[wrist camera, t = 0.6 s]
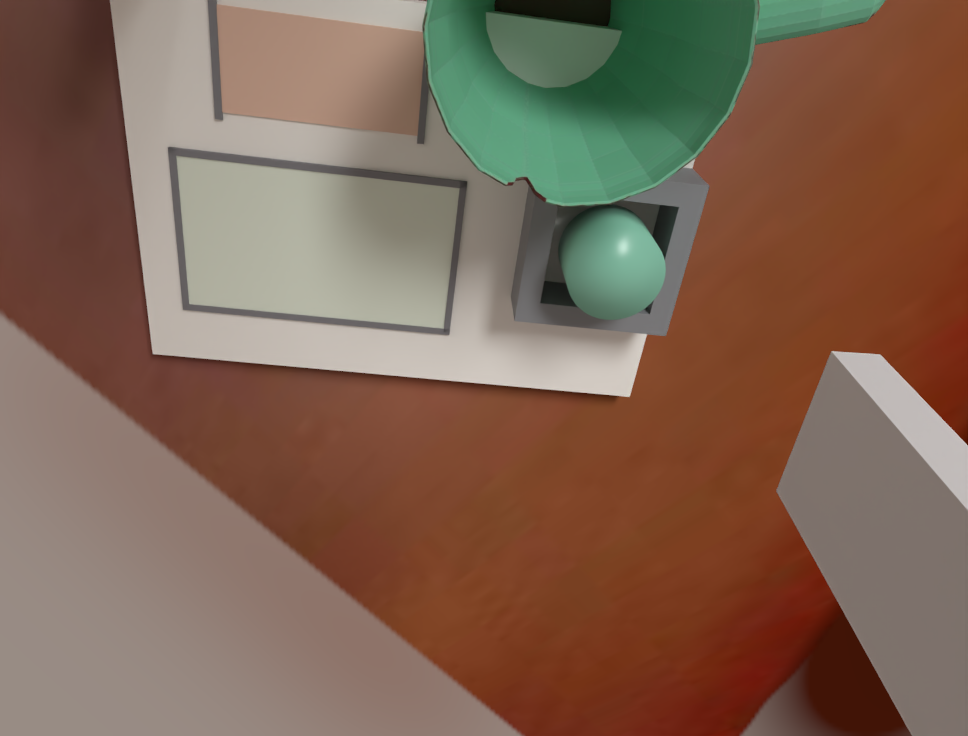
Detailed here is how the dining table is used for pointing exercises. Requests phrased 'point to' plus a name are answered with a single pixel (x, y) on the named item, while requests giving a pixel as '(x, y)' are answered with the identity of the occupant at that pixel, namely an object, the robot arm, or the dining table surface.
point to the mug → (610, 91)
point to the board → (360, 199)
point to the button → (610, 262)
